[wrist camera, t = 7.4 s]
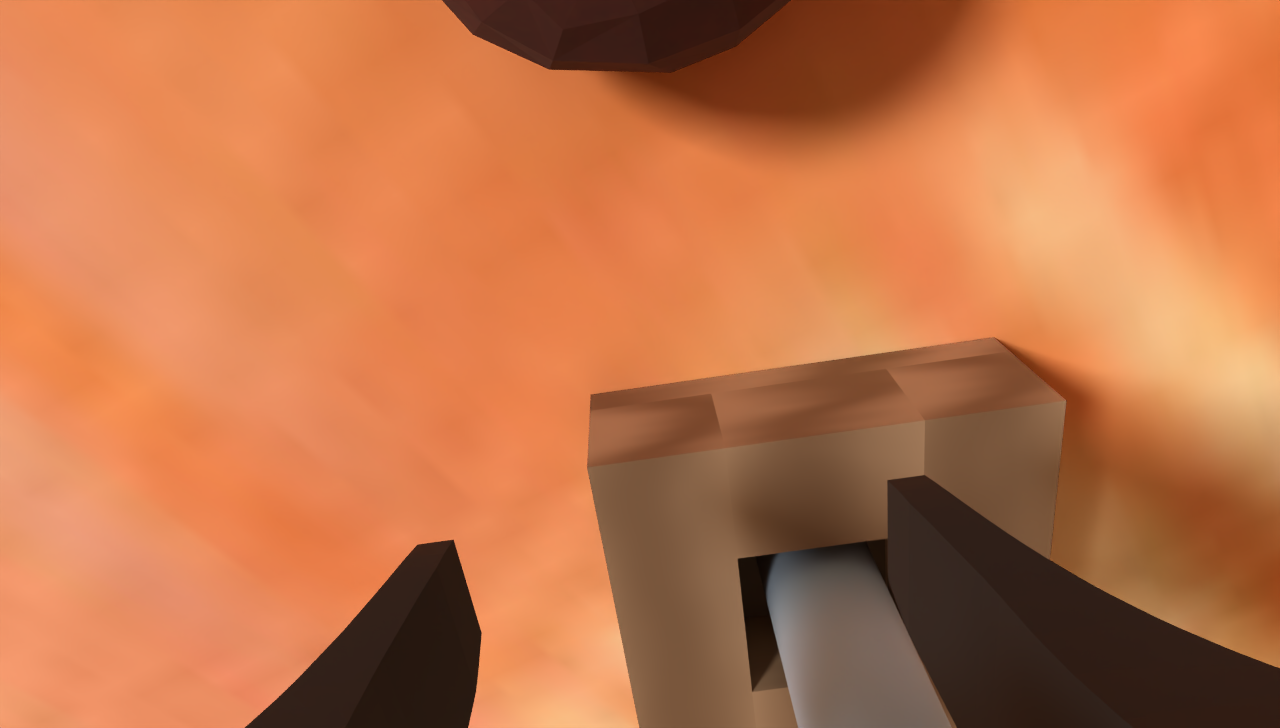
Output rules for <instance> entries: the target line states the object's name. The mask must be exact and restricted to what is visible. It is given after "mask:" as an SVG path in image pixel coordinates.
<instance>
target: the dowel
mask: <svg viewBox="0 0 1280 728" xmlns="http://www.w3.org/2000/svg"><path fill="white" fill-rule="evenodd" d="M756 560H757V565H758V569H759V573H760V577H761V581H762V585H763V589H764V593H765V597H766V601H767V605H768V609H769V613H770V617H771V621H772V625H773V629H774V633H775V637H776V641H777V645H778V649H779V653H780V657H781V661H782V665H783V669H784V673H785V677H786V681H787V685H788V689H789V693H790V697H791V701H792V705H793V709H794V713H795V717H796V721H797V725H798V728H952V727H951V725H950V723H949V720H948V718H947V716H946V714H945V712H944V710H943V708H942V705H941V703H940V701H939V699H938V697H937V695H936V692H935V690H934V688H933V686H932V684H931V682H930V679H929V677H928V675H927V673H926V671H925V669H924V666H923V664H922V662H921V660H920V658H919V656H918V653H917V651H916V649H915V647H914V645H913V643H912V640H911V638H910V636H909V634H908V632H907V630H906V627H905V625H904V623H903V621H902V619H901V617H900V614H899V612H898V610H897V608H896V606H895V604H894V601H893V599H892V597H891V595H890V593H889V591H888V589H887V586H886V584H885V582H884V580H883V578H882V576H881V573H880V571H879V569H878V567H877V565H876V563H875V560H874V558H873V556H872V554H871V552H870V550H869V547H868V545H867V543H866V541H864V542H857V543H850V544H842V545H835V546H827V547H820V548H813V549H805V550H798V551H790V552H783V553H776V554H768V555H761V556H756Z"/></svg>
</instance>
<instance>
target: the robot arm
mask: <svg viewBox="0 0 1280 728" xmlns="http://www.w3.org/2000/svg"><path fill="white" fill-rule="evenodd" d="M887 510H888V580H889V583H890V586H891V588H892V591H893V594H894V597H895V600H896V602H897V605H898V608H899V611H900V613H901V616H902V618H903V621H904V624H905V626H906V629H907V632H908V634H909V636H910V638H911V640H912V642H913V644H914V646H915V648H916V650H917V652H918V654H919V656H920V658H921V660H922V662H923V664H924V665H925V667H926V669H927V671H928V673H929V675H930V677H931V679H932V681H933V683H934V685H935V687H936V689H937V690H938V692H939V694H940V696H941V698H942V700H943V702H944V704H945V706H946V708H947V710H948V711H949V713H950V715H951V717H952V719H953V721H954V723H955V725H956V727H957V728H1280V668H1277V667H1274V666H1271V665H1269V664H1266V663H1264V662H1261V661H1258V660H1256V659H1253V658H1250V657H1248V656H1245V655H1243V654H1240V653H1237V652H1235V651H1232V650H1230V649H1227V648H1225V647H1223V646H1220V645H1218V644H1216V643H1213V642H1211V641H1208V640H1206V639H1204V638H1201V637H1199V636H1197V635H1194V634H1192V633H1190V632H1187V631H1185V630H1182V629H1180V628H1178V627H1176V626H1174V625H1171V624H1169V623H1167V622H1165V621H1163V620H1160V619H1158V618H1156V617H1154V616H1152V615H1150V614H1148V613H1146V612H1144V611H1142V610H1140V609H1138V608H1136V607H1134V606H1132V605H1130V604H1128V603H1126V602H1124V601H1122V600H1120V599H1118V598H1116V597H1114V596H1112V595H1110V594H1108V593H1106V592H1104V591H1103V590H1101V589H1099V588H1097V587H1095V586H1093V585H1091V584H1090V583H1088V582H1086V581H1084V580H1083V579H1081V578H1079V577H1077V576H1076V575H1074V574H1072V573H1071V572H1069V571H1067V570H1066V569H1064V568H1062V567H1061V566H1059V565H1057V564H1055V563H1054V562H1052V561H1050V560H1049V559H1047V558H1045V557H1044V556H1042V555H1041V554H1039V553H1038V552H1036V551H1034V550H1033V549H1031V548H1030V547H1028V546H1026V545H1025V544H1023V543H1022V542H1020V541H1019V540H1017V539H1016V538H1014V537H1013V536H1011V535H1010V534H1008V533H1007V532H1005V531H1004V530H1002V529H1001V528H999V527H998V526H996V525H995V524H994V523H992V522H991V521H989V520H988V519H986V518H985V517H983V516H982V515H981V514H979V513H978V512H976V511H975V510H974V509H972V508H971V507H969V506H968V505H966V504H965V503H964V502H962V501H961V500H960V499H958V498H957V497H955V496H954V495H953V494H951V493H950V492H948V491H947V490H946V489H944V488H943V487H941V486H940V485H939V484H937V483H936V482H934V481H933V480H931V479H930V478H928V477H927V476H926V475H921V476H914V477H907V478H899V479H892V480H887ZM480 645H481V630H480V626H479V623H478V620H477V616H476V613H475V610H474V606H473V603H472V600H471V596H470V593H469V590H468V586H467V583H466V580H465V577H464V573H463V570H462V567H461V563H460V560H459V557H458V553H457V550H456V547H455V543H454V540H449V541H441V542H434V543H427V544H419V545H417V546H416V547H415V548H414V549H413V550H412V551H411V553H410V554H409V555H408V556H407V557H406V558H405V560H404V561H403V562H402V563H401V564H400V565H399V567H398V568H397V569H396V570H395V571H394V573H393V574H392V575H391V576H390V577H389V579H388V580H387V581H386V582H385V583H384V584H383V586H382V587H381V588H380V589H379V590H378V592H377V593H376V594H375V595H374V596H373V597H372V599H371V600H370V601H369V602H368V603H367V604H366V605H365V607H364V608H363V609H362V610H361V611H360V612H359V614H358V615H357V616H356V617H355V618H354V619H353V620H352V622H351V623H350V624H349V625H348V626H347V627H346V628H345V630H344V631H343V632H342V633H341V634H340V635H339V636H338V637H337V638H336V639H335V640H334V641H333V642H332V643H331V644H330V646H329V647H328V648H327V649H326V650H325V651H324V652H323V653H322V654H321V655H320V656H319V657H318V658H317V659H316V660H315V661H314V662H313V663H312V664H311V665H310V667H309V668H308V669H307V670H306V671H305V672H304V673H303V674H302V675H301V676H300V677H299V678H298V679H297V680H296V681H295V682H294V683H293V684H292V685H291V686H290V687H289V688H288V689H287V690H286V691H285V692H284V693H283V694H282V695H281V696H279V697H278V698H277V699H276V700H275V701H274V702H273V703H272V704H271V705H270V706H269V707H268V708H266V709H265V710H264V711H263V712H262V713H261V714H260V715H259V716H257V717H256V718H255V719H254V720H253V721H252V722H251V723H250V724H249V725H247V726H246V727H245V728H468V726H469V721H470V717H471V712H472V708H473V703H474V698H475V693H476V686H477V677H478V668H479V657H480Z"/></svg>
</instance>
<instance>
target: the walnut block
mask: <svg viewBox="0 0 1280 728" xmlns="http://www.w3.org/2000/svg"><path fill="white" fill-rule="evenodd" d="M1065 410H1066V400H1065V399H1064V398H1063V397H1062V396H1061V395H1059V394H1058V393H1057V392H1056V391H1055V390H1054V389H1053V388H1051V387H1050V386H1049V385H1048V384H1047V383H1046V382H1045V381H1043V380H1042V379H1041V378H1040V377H1039V376H1038V375H1037V374H1035V373H1034V372H1033V371H1032V370H1031V369H1030V368H1029V367H1027V366H1026V365H1025V364H1024V363H1023V362H1022V361H1020V360H1019V359H1018V358H1017V357H1016V356H1015V355H1014V354H1012V353H1011V352H1010V351H1009V350H1008V349H1007V348H1006V347H1004V346H1003V345H1002V344H1001V343H1000V342H999V341H998V340H996V339H995V338H987V339H980V340H973V341H966V342H959V343H952V344H945V345H938V346H931V347H924V348H917V349H910V350H903V351H895V352H888V353H881V354H874V355H867V356H860V357H853V358H846V359H839V360H832V361H825V362H818V363H811V364H804V365H797V366H790V367H783V368H776V369H769V370H762V371H755V372H748V373H741V374H734V375H727V376H720V377H713V378H705V379H698V380H691V381H684V382H677V383H670V384H663V385H656V386H649V387H642V388H635V389H628V390H621V391H614V392H607V393H600V394H593V395H591V401H590V422H589V442H588V462H587V469H588V474H589V479H590V484H591V489H592V494H593V499H594V504H595V509H596V514H597V519H598V524H599V529H600V533H601V538H602V543H603V548H604V553H605V558H606V563H607V568H608V573H609V578H610V583H611V588H612V593H613V598H614V603H615V608H616V613H617V618H618V623H619V628H620V633H621V638H622V643H623V648H624V653H625V658H626V663H627V668H628V673H629V678H630V683H631V688H632V693H633V698H634V703H635V708H636V713H637V718H638V723H639V728H798V725H797V721H796V717H795V713H794V709H793V705H792V701H791V697H790V693H789V689H788V685H787V681H786V677H785V673H784V669H783V665H782V661H781V657H780V653H779V649H778V645H777V641H776V637H775V633H774V629H773V625H772V621H771V617H770V613H769V609H768V605H767V601H766V597H765V593H764V589H763V585H762V581H761V577H760V573H759V569H758V565H757V560H756V556H761V555H768V554H776V553H783V552H790V551H798V550H805V549H813V548H820V547H827V546H835V545H842V544H850V543H857V542H864V541H866V543H867V545H868V547H869V550H870V552H871V554H872V556H873V558H874V560H875V563H876V565H877V567H878V569H879V571H880V573H881V576H882V578H883V580H884V582H885V584H886V586H887V589H888V591H889V593H890V595H891V597H892V599H893V601H894V604H895V606H896V608H897V610H898V612H899V614H900V617H901V619H902V621H903V618H902V616H901V613H900V611H899V608H898V605H897V602H896V600H895V597H894V594H893V591H892V588H891V586H890V583H889V580H888V510H887V480H892V479H899V478H907V477H914V476H921V475H926V476H927V477H928V478H930V479H931V480H933V481H934V482H936V483H937V484H939V485H940V486H941V487H943V488H944V489H946V490H947V491H948V492H950V493H951V494H953V495H954V496H955V497H957V498H958V499H960V500H961V501H962V502H964V503H965V504H966V505H968V506H969V507H971V508H972V509H974V510H975V511H976V512H978V513H979V514H981V515H982V516H983V517H985V518H986V519H988V520H989V521H991V522H992V523H994V524H995V525H996V526H998V527H999V528H1001V529H1002V530H1004V531H1005V532H1007V533H1008V534H1010V535H1011V536H1013V537H1014V538H1016V539H1017V540H1019V541H1020V542H1022V543H1023V544H1025V545H1026V546H1028V547H1030V548H1031V549H1033V550H1034V551H1036V552H1038V553H1039V554H1041V555H1042V556H1044V557H1045V558H1047V559H1049V560H1050V554H1051V544H1052V535H1053V525H1054V515H1055V506H1056V496H1057V487H1058V477H1059V467H1060V458H1061V448H1062V439H1063V429H1064V419H1065ZM903 623H904V621H903ZM904 625H905V624H904ZM905 627H906V626H905ZM906 630H907V629H906ZM912 643H913V642H912ZM913 645H914V644H913ZM914 647H915V646H914ZM915 649H916V648H915ZM916 651H917V650H916ZM917 653H918V652H917ZM918 656H919V654H918ZM919 658H920V656H919ZM920 660H921V658H920ZM921 662H922V660H921ZM922 664H923V662H922ZM923 666H924V669H925V671H926V673H927V675H928V677H929V679H930V682H931V684H932V686H933V688H934V690H935V692H936V695H937V697H938V699H939V701H940V703H941V705H942V708H943V710H944V712H945V714H946V716H947V718H948V720H949V723H950V725H951V727H952V728H957V727H956V725H955V723H954V721H953V719H952V717H951V715H950V713H949V711H948V710H947V708H946V706H945V704H944V702H943V700H942V698H941V696H940V694H939V692H938V690H937V689H936V687H935V685H934V683H933V681H932V679H931V677H930V675H929V673H928V671H927V669H926V667H925V665H924V664H923Z"/></svg>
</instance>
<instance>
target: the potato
mask: <svg viewBox="0 0 1280 728" xmlns="http://www.w3.org/2000/svg"><path fill="white" fill-rule="evenodd" d="M442 1H443V2H444V3H445V4H446V5H447V6H448V7H449V8H450V10H451V11H452V12H453V13H454V14H455V15H456V16H457V17H458V18H459V20H460V21H461V22H462V23H463V24H464V25H465V26H466V27H467V28H468V30H469V31H470V32H471V33H472V34H473V35H475V36H477V37H480V38H482V39H484V40H486V41H488V42H491V43H493V44H495V45H497V46H499V47H501V48H504V49H506V50H508V51H510V52H512V53H515V54H517V55H519V56H521V57H523V58H526V59H528V60H530V61H532V62H534V63H536V64H539V65H541V66H543V67H545V68H547V69H551V70H590V71H629V72H667V73H671V72H673V71H676V70H678V69H681V68H683V67H686V66H688V65H691V64H693V63H696V62H698V61H701V60H703V59H706V58H708V57H711V56H713V55H716V54H718V53H721V52H723V51H726V50H728V49H730V48H733V47H735V46H737V45H738V44H739V43H740V42H741V41H743V40H744V39H745V38H746V37H747V36H749V35H750V34H751V33H752V32H753V31H755V30H756V29H757V28H758V27H759V26H761V25H762V24H763V23H764V22H765V21H767V20H768V19H769V18H770V17H771V16H773V15H774V14H775V13H776V12H777V11H779V10H780V9H781V8H782V7H783V6H785V5H786V4H787V3H788V2H789V1H791V0H442Z"/></svg>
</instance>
